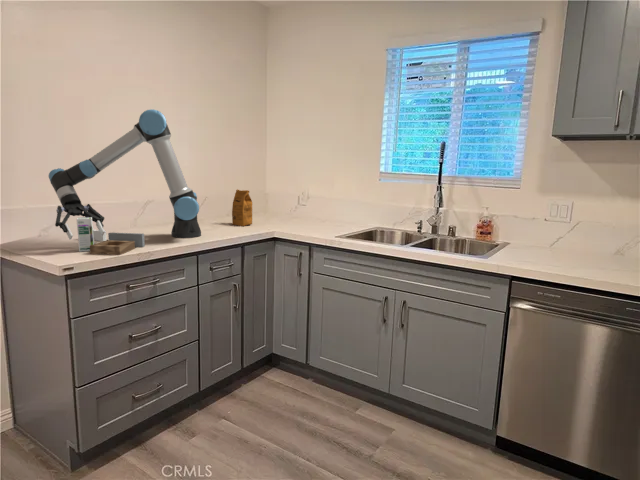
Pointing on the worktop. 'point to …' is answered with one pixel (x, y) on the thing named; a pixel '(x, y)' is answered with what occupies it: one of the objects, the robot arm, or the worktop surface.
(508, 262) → the worktop surface
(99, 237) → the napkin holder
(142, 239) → the backstop wall
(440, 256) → the worktop surface
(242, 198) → the coffee package
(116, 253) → the tray
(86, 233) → the syrup box
